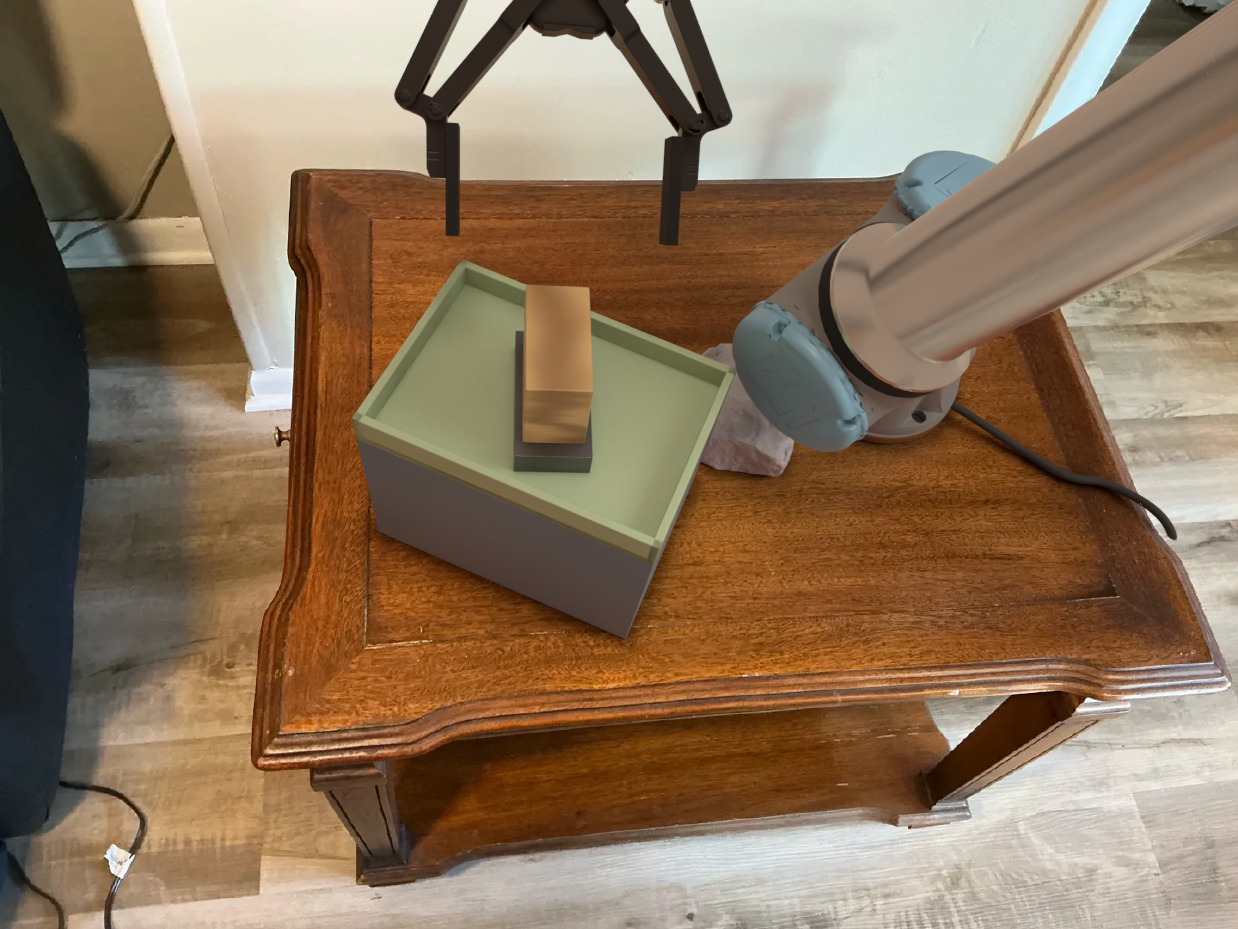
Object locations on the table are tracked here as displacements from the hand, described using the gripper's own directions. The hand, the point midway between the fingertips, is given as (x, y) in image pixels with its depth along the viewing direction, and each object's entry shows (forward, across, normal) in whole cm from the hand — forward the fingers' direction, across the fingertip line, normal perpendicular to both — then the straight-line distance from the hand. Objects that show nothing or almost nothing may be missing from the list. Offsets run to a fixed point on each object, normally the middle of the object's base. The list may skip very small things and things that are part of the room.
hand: (562, 240), depth 59 cm
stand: (+22, 0, -12) cm, 25 cm away
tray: (+12, 0, -2) cm, 12 cm away
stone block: (+15, -17, -19) cm, 30 cm away
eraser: (+11, 0, -2) cm, 11 cm away
